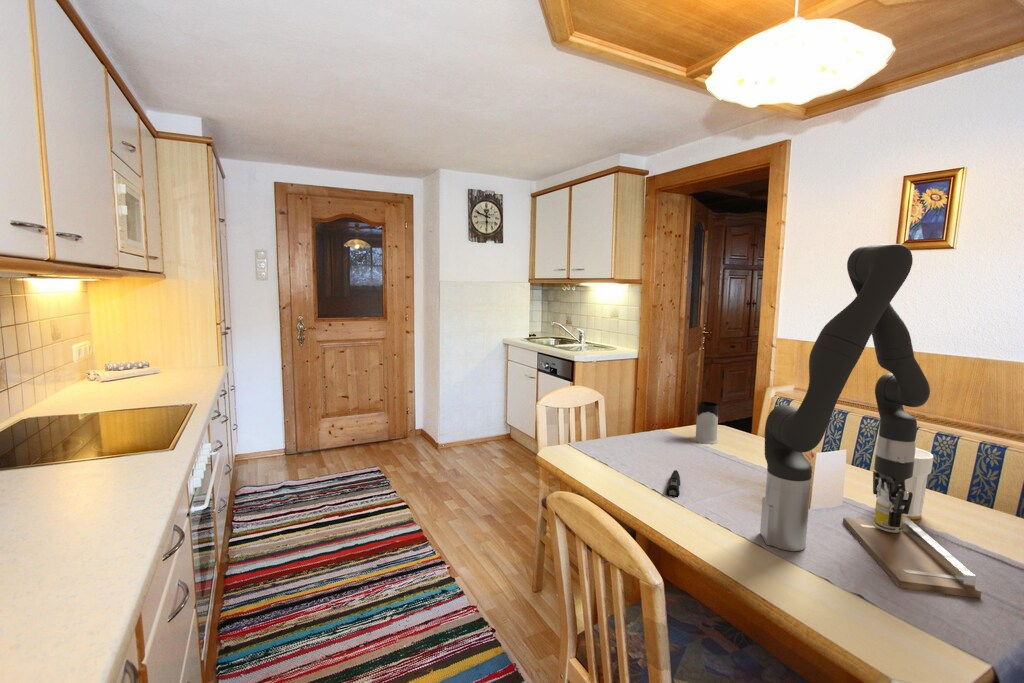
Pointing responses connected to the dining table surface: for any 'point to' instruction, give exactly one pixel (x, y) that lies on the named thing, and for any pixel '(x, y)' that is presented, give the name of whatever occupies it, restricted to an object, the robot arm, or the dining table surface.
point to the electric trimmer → (673, 485)
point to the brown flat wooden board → (906, 560)
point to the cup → (918, 482)
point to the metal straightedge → (939, 554)
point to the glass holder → (707, 423)
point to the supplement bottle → (884, 513)
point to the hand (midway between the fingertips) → (887, 520)
